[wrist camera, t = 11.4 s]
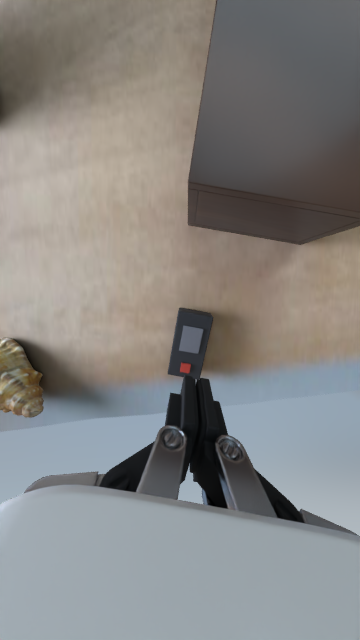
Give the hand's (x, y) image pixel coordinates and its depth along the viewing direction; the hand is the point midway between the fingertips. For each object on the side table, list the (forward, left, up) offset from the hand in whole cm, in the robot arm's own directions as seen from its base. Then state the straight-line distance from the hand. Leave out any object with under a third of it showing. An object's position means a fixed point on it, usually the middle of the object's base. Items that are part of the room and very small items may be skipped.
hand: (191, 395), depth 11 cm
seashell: (+23, +9, -12) cm, 28 cm away
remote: (0, 0, -12) cm, 12 cm away
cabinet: (-4, -22, -12) cm, 25 cm away
